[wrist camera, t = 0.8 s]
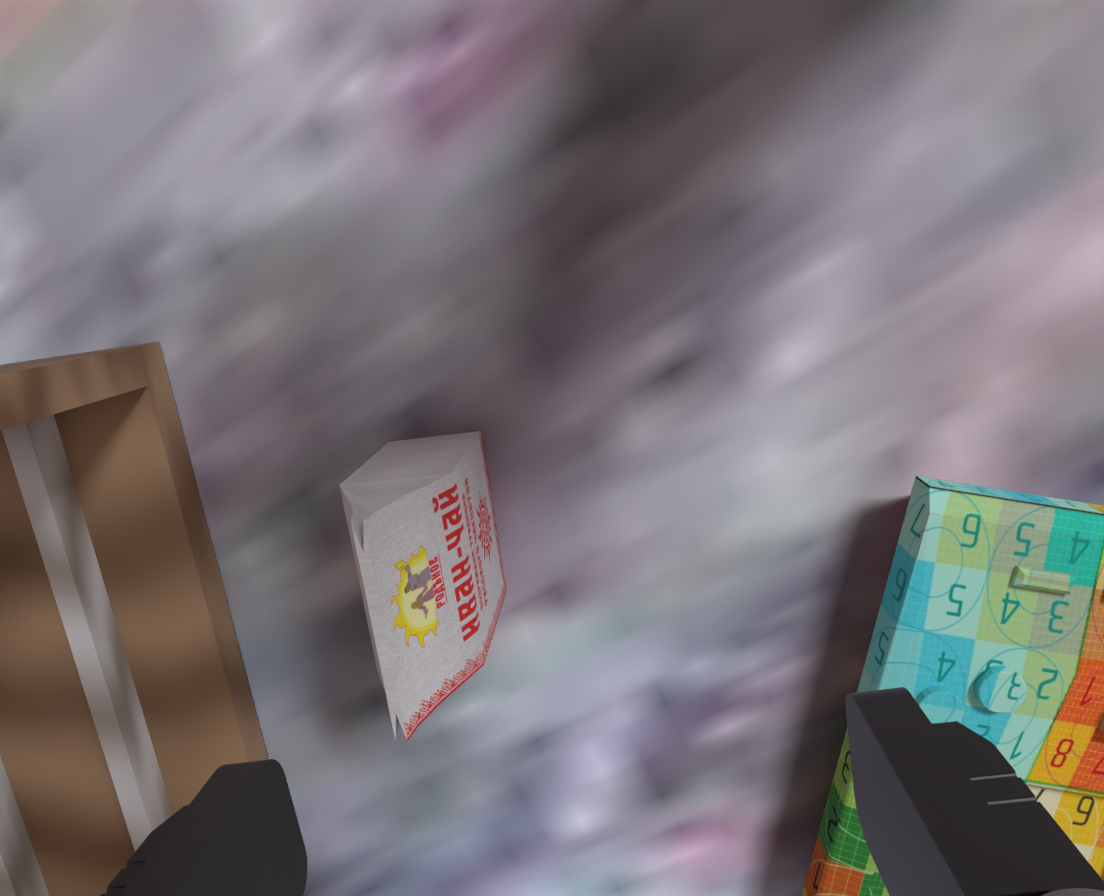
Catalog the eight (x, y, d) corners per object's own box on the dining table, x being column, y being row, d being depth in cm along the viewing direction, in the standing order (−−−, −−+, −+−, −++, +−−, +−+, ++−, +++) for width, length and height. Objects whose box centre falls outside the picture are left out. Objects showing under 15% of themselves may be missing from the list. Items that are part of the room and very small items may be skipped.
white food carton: (418, 599, 33) (337, 746, 23) (389, 441, 31) (289, 528, 22) (506, 591, 33) (462, 736, 23) (480, 430, 31) (421, 514, 21)
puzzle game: (1310, 553, 25) (1109, 1037, 30) (1204, 506, 30) (1044, 934, 35) (940, 494, 26) (803, 981, 31) (891, 457, 30) (778, 887, 35)
